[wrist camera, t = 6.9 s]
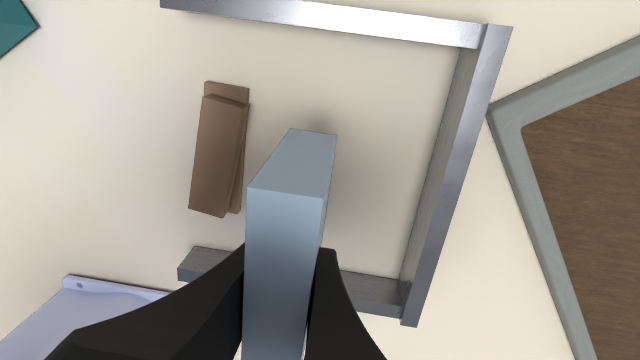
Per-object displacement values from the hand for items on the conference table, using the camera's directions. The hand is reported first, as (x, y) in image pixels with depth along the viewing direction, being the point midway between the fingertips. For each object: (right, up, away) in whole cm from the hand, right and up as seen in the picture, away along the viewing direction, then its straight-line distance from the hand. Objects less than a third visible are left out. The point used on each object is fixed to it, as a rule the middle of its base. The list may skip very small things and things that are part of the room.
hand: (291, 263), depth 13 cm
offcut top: (-5, +5, +7) cm, 10 cm away
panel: (0, +1, +3) cm, 3 cm away
